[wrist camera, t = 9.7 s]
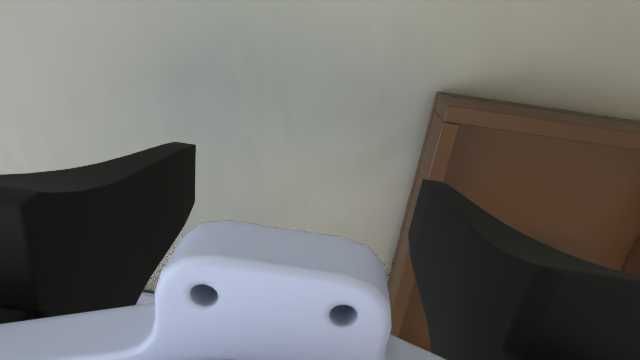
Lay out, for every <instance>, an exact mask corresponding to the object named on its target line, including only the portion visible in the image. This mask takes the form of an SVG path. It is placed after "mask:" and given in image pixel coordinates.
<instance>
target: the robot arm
mask: <svg viewBox="0 0 640 360" xmlns="http://www.w3.org/2000/svg"><path fill="white" fill-rule="evenodd" d="M195 154H196V145H193V144H186V143H180V142H172V143H167V144H163V145H160V146H156V147H153V148H150V149H147V150H144V151H140V152H137V153H134V154H131V155H127V156H124V157H120V158H116V159H113V160H109V161H105V162H102V163H97V164H93V165H88V166H83V167H77V168H71V169H65V170H56V171H47V172H37V173H27V174H8V175H0V360H640V276H637V275H633V274H629V273H626V272H622V271H618V270H614V269H611V268H607V267H604V266H601V265H598V264H595V263H592V262H589V261H586V260H583V259H580V258H577V257H575V256H572V255H569V254H567V253H564V252H562V251H559V250H557V249H555V248H552V247H550V246H548V245H545V244H543V243H541V242H539V241H537V240H534V239H532V238H530V237H529V236H527V235H525V234H523V233H521V232H519V231H517V230H515V229H513V228H512V227H510V226H508V225H506V224H505V223H503V222H502V221H500V220H499V219H497V218H495V217H494V216H492V215H491V214H489V213H488V212H486V211H485V210H483V209H482V208H480V207H479V206H478V205H476V204H475V203H473V202H472V201H471V200H469V199H468V198H466V197H465V196H464V195H462V194H461V193H460V192H458V191H457V190H455V189H454V188H452V187H451V186H449V185H448V184H446V183H444V182H440V181H433V180H427V179H423V180H422V184H421V188H420V191H419V195H418V199H417V202H416V206H415V210H414V213H413V217H412V221H411V224H410V228H409V232H408V240H409V251H410V259H411V263H412V267H413V271H414V275H415V279H416V282H417V286H418V290H419V294H420V297H421V301H422V305H423V308H424V312H425V316H426V321H427V326H428V332H429V339H430V346H431V352H428V351H426V350H424V349H422V348H419V347H417V346H415V345H413V344H411V343H408V342H406V341H404V340H402V339H400V338H397V337H395V336H393V335H391V334H390V332H391V328H392V324H391V309H390V300H389V293H388V286H387V279H386V272H385V265H384V264H383V263H382V262H381V260H380V259H379V258H378V257H377V256H376V254H375V253H374V252H373V251H372V249H371V248H370V247H368V246H366V245H363V244H360V243H358V242H355V241H353V240H350V239H348V238H345V237H339V236H332V235H325V234H319V233H312V232H305V231H298V230H291V229H285V228H278V227H271V226H264V225H257V224H251V223H244V222H237V221H230V220H228V221H216V222H204V223H201V224H200V225H199V226H197V227H196V228H194V229H193V230H191V231H190V232H188V233H187V234H185V235H184V236H183V237H182V239H181V241H180V242H179V244H178V246H177V247H176V249H175V250H174V252H173V254H172V255H171V257H170V259H169V260H168V262H167V263H166V265H165V267H164V268H163V270H162V272H161V275H160V278H159V281H158V284H157V287H156V290H155V293H154V294H152V293H145V292H142V291H143V289H144V287H145V286H146V284H147V282H148V280H149V279H150V277H151V275H152V274H153V272H154V271H155V269H156V268H157V266H158V265H159V263H160V262H161V260H162V259H163V257H164V256H165V254H166V253H167V251H168V250H169V248H170V247H171V245H172V244H173V242H174V241H175V239H176V238H177V236H178V235H179V233H180V232H181V230H182V228H183V227H184V225H185V223H186V221H187V219H188V217H189V214H190V212H191V210H192V207H193V205H194V203H195Z"/></svg>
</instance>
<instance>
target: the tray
mask: <svg viewBox="0 0 640 360" xmlns="http://www.w3.org/2000/svg"><path fill="white" fill-rule="evenodd" d="M423 179H427V180H433V181H440V182H444V183H446V184H448V185H449V186H451V187H452V188H454V189H455V190H457V191H458V192H460V193H461V194H462V195H464V196H465V197H466V198H468V199H469V200H471V201H472V202H473V203H475V204H476V205H478V206H479V207H480V208H482V209H483V210H485V211H486V212H488V213H489V214H491V215H492V216H494V217H495V218H497V219H499V220H500V221H502V222H503V223H505V224H506V225H508V226H510V227H512V228H513V229H515V230H517V231H519V232H521V233H523V234H525V235H527V236H529V237H530V238H532V239H534V240H537V241H539V242H541V243H543V244H545V245H548V246H550V247H552V248H555V249H557V250H559V251H562V252H564V253H567V254H569V255H572V256H575V257H577V258H580V259H583V260H586V261H589V262H592V263H595V264H598V265H601V266H604V267H607V268H611V269H614V270H618V271H622V272H626V273H629V274H633V275H637V276H640V122H638V121H631V120H625V119H618V118H611V117H604V116H598V115H591V114H584V113H577V112H570V111H564V110H557V109H550V108H543V107H537V106H530V105H523V104H516V103H509V102H503V101H496V100H489V99H482V98H475V97H469V96H462V95H455V94H448V93H442V92H437V93H436V97H435V101H434V105H433V109H432V112H431V116H430V120H429V124H428V128H427V132H426V136H425V140H424V144H423V147H422V151H421V155H420V159H419V163H418V167H417V171H416V175H415V179H414V182H413V186H412V190H411V194H410V198H409V202H408V206H407V210H406V214H405V217H404V221H403V225H402V229H401V233H400V237H399V241H398V245H397V249H396V252H395V256H394V260H393V264H392V268H391V272H390V276H389V280H388V284H387V286H388V293H389V300H390V309H391V324H392V328H391V332H390V334H391V335H393V336H395V337H397V338H400V339H402V340H404V341H406V342H408V343H411V344H413V345H415V346H417V347H419V348H422V349H424V350H426V351H428V352H431V346H430V339H429V332H428V326H427V321H426V316H425V312H424V308H423V305H422V301H421V297H420V294H419V290H418V286H417V282H416V279H415V275H414V271H413V267H412V263H411V259H410V251H409V240H408V232H409V228H410V224H411V221H412V217H413V213H414V210H415V206H416V202H417V199H418V195H419V191H420V188H421V184H422V180H423Z"/></svg>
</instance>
